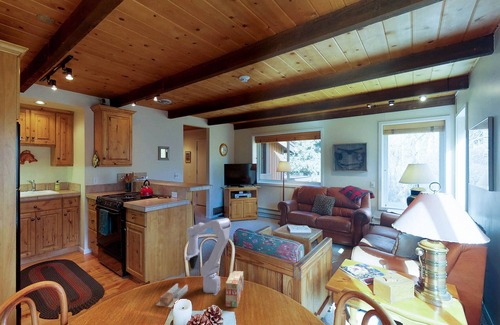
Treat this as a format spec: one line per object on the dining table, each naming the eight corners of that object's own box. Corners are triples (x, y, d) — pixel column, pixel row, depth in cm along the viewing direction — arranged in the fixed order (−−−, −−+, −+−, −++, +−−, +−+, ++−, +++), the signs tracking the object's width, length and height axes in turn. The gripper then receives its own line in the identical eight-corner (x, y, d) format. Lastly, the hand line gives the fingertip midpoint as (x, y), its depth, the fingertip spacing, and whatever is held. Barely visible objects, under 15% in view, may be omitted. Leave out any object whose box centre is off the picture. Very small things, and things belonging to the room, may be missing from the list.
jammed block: (173, 301, 120) (173, 293, 120) (167, 306, 115) (167, 298, 115) (165, 299, 121) (165, 292, 121) (159, 305, 116) (159, 297, 116)
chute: (188, 291, 131) (189, 285, 132) (171, 309, 114) (171, 302, 114) (175, 289, 134) (175, 283, 134) (155, 306, 116) (155, 299, 116)
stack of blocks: (233, 286, 138) (233, 265, 138) (243, 286, 137) (243, 266, 138) (225, 306, 117) (225, 282, 117) (237, 307, 116) (237, 283, 116)
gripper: (192, 241, 150) (192, 262, 149) (181, 249, 136) (180, 272, 135) (202, 242, 148) (202, 263, 148) (192, 250, 134) (191, 273, 133)
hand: (192, 267), depth 141 cm, fingers closed
